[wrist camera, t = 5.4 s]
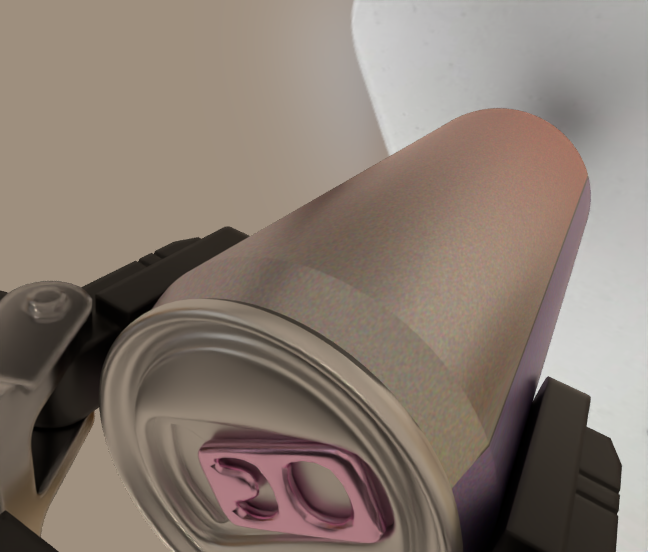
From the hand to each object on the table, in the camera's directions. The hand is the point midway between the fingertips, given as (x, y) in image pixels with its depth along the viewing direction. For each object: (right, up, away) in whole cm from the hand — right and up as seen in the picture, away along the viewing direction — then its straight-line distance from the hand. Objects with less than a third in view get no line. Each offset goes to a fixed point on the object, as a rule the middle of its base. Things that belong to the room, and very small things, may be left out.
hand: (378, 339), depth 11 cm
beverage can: (+5, +4, +9) cm, 11 cm away
